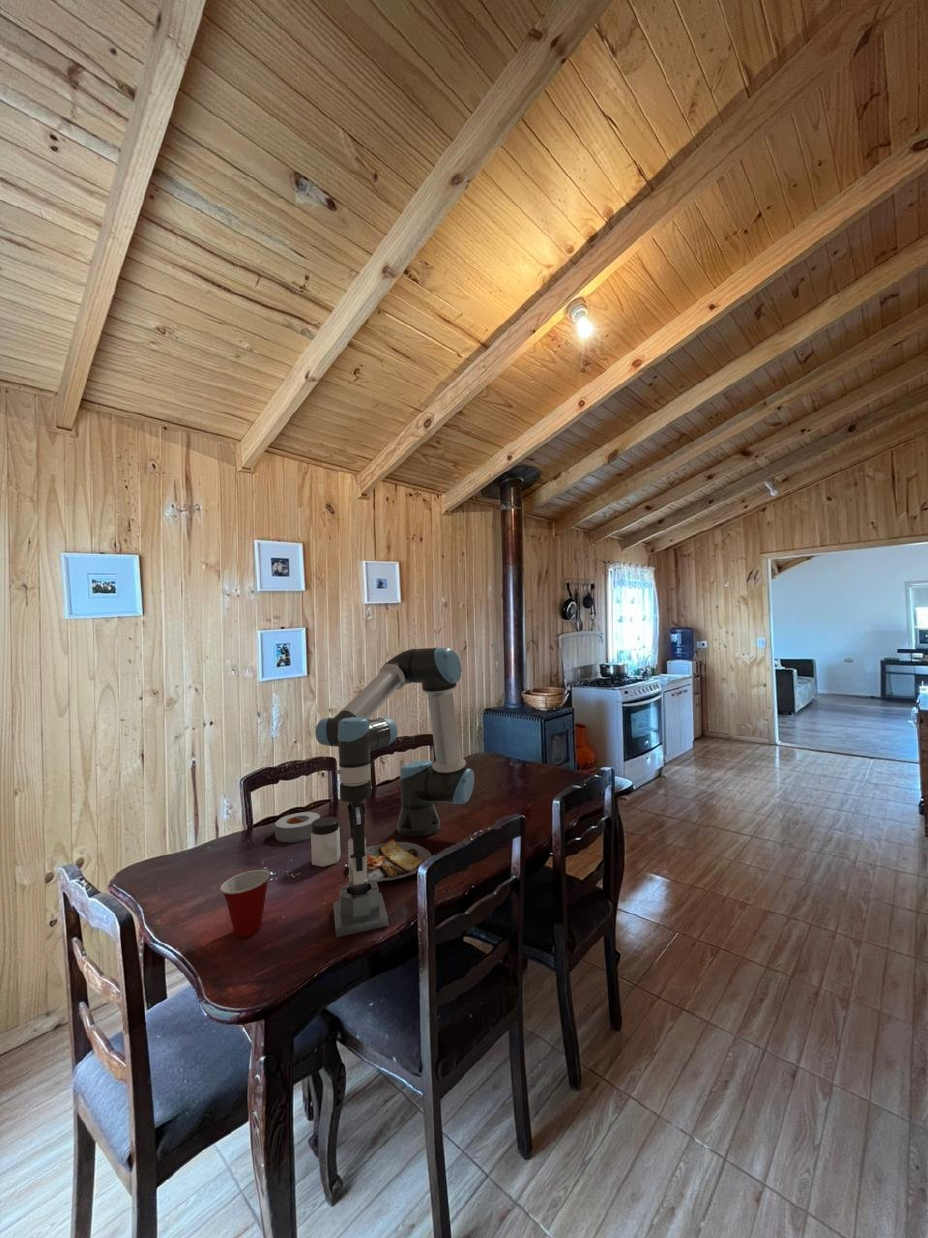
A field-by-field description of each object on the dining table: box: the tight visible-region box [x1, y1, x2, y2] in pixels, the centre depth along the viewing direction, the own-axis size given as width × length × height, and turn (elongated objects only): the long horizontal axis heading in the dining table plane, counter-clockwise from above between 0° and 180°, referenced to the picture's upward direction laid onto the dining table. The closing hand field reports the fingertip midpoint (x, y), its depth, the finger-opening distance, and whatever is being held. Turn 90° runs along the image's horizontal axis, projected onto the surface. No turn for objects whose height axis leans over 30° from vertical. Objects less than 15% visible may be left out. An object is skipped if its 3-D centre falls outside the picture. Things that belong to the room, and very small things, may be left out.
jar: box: [310, 816, 342, 868], centre depth 151 cm, size 9×8×12 cm
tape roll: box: [274, 811, 321, 843], centre depth 174 cm, size 15×15×5 cm
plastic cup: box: [220, 869, 271, 938], centre depth 116 cm, size 11×11×12 cm
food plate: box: [346, 838, 432, 883], centre depth 146 cm, size 25×23×4 cm
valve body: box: [332, 873, 389, 938], centre depth 121 cm, size 12×16×7 cm
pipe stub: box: [347, 836, 368, 895], centre depth 119 cm, size 4×4×14 cm
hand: (358, 878), depth 119 cm, fingers closed on pipe stub, 4 cm apart
